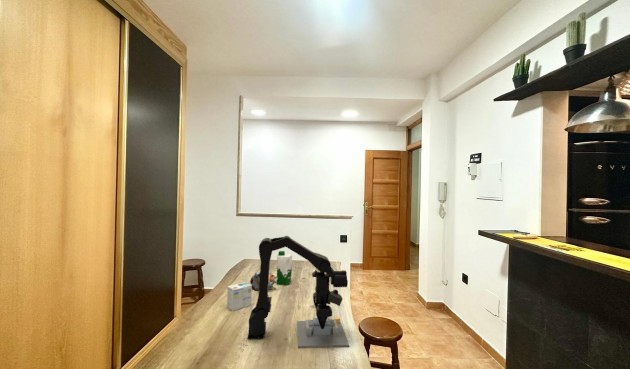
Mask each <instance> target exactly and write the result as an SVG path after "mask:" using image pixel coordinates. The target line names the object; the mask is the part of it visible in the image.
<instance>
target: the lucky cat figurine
mask: <svg viewBox="0 0 630 369" xmlns="http://www.w3.org/2000/svg"><path fill="white" fill-rule="evenodd" d="M277 279H278V277H277V276H275V275H274V274H273V273H272V272H270V271H269V283H268V289H269V288H271V287H273V286H274V284H275V283H277ZM259 282H260V271H255V273H254V274H253V275H252V276H251V278H250V281H249V284H251V285H252V290H253V291H254V290H255V291H258V292H259Z"/></svg>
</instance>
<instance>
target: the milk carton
mask: <svg viewBox="0 0 630 369" xmlns="http://www.w3.org/2000/svg"><path fill="white" fill-rule="evenodd" d="M277 252H278V254H277V256H276V277H278V279H277V281H276V285H277V286H289V285H290V283H291V282H292V270H293V269H292V266H293V263H292V262H293V254H289V253H286V252H285V250H279V251H277Z"/></svg>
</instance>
